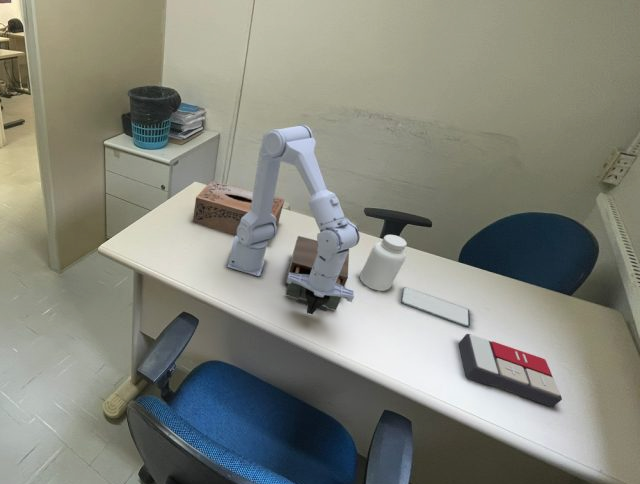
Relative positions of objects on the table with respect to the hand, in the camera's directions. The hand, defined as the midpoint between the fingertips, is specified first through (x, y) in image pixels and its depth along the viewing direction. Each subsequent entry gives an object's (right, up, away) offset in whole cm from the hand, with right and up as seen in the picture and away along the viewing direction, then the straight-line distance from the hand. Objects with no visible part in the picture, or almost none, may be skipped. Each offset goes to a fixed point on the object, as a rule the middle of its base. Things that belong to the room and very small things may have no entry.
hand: (310, 311), depth 99 cm
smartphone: (+36, 0, +6) cm, 36 cm away
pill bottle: (+25, +5, +14) cm, 29 cm away
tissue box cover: (-8, +22, +39) cm, 45 cm away
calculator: (+38, -12, -10) cm, 41 cm away
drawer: (+4, +3, +9) cm, 10 cm away
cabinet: (+8, +6, +16) cm, 19 cm away
